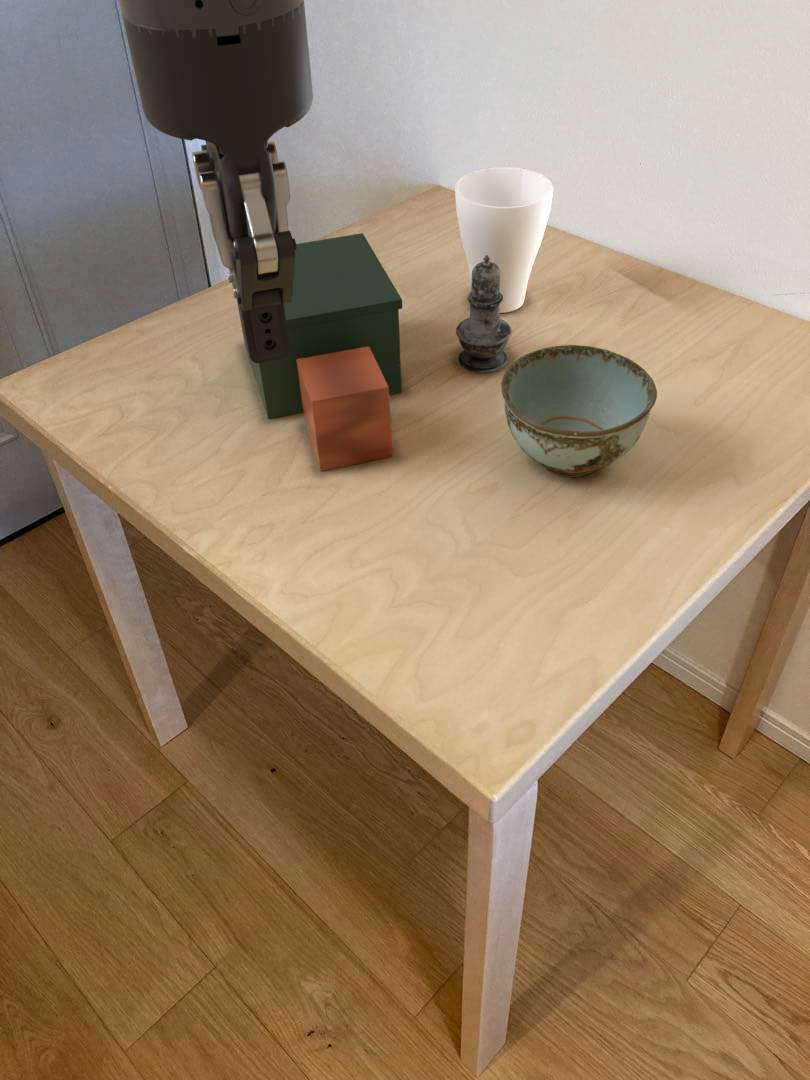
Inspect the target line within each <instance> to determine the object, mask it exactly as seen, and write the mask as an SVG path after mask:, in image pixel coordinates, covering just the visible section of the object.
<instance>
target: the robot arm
mask: <svg viewBox="0 0 810 1080" xmlns="http://www.w3.org/2000/svg"><path fill="white" fill-rule="evenodd" d="M118 3H119V8H120V12H121V16H122V17H121V18H122V21H123V25H124V30H125V34H126V39H127V43H128V48H129V52H130V57H131V61H132V67H133V70H134V74H135V79H136V83H137V89H138V93H139V97H140V102H141V106H142V110H143V111H142V112H143V114H144V117H145V118H146V120H147V121H148V123H149V124H150V125H151V126H152V127H154V128H155V129H156V130H157V131H159V132H161V133H162V134H165V135H167V136H170V137H173V138H175V139H180V140H185V141H193V140H200V141H205V144H201V145H200V148H201V150H198V151H192V152H191V157H192V163H193V168H194V172H195V177H196V180H197V183H198V186H199V189H200V190H201V194H202V198H203V202H204V205H205V208H206V211H207V213H208V217H209V222H210V228H211V232H212V236H213V239H214V242H215V244H216V246H217V251H218V253H219V254H218V255H219V257H220V261H221V263H222V266H224V267H225V268H227V269H228V271H229V270H230V271H229V272H227V278H228V282H229V284H232V293H233V298H234V299H236V302H237V301H238V304H239V309H238V311H239V310H240V315H239V317H240V316H241V320H240V322H241V321H242V326H241V328H242V327H243V332H242V334H243V333H244V337H243V339H244V338H245V343H244V345H245V344H246V347H247V350H248V353H249V356H250V359H251V360H252V361H253V362H255V363H263V362H269V361H274V360H279V359H284V358H286V357H287V356H288V355H289V353H290V346H289V339H288V332H287V325H286V317H285V310H284V304H287V303H291V302H292V295H293V278H294V264H295V250H297V248H296V244H297V243H296V238H294V237H293V235H292V232H291V230H289V220H288V211H287V205H288V204H289V203H290V201H291V190H290V189H291V188H290V182H289V175H288V168H287V165H286V162H285V160H279V156H278V152H277V146H276V144H275V141H274V140H270V139H271V137H272V136H273V135H274V134H276V133H277V132H278V131H280V130H282V129H283V128H289V127H292V126H293V125H295V124H296V123H298V122H300V121H301V120H302V119H303V118H304V117H305V116H306V115H307V114H308V113H309V111H310V110H311V107H312V105H313V101H314V90H313V82H312V71H311V60H310V50H309V39H308V29H307V18H306V7H305V6H306V5H305V0H118ZM269 140H270V141H269ZM238 304H237V305H238Z"/></svg>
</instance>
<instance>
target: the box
mask: <svg viewBox="0 0 810 1080" xmlns="http://www.w3.org/2000/svg"><path fill="white" fill-rule="evenodd" d="M296 248H297V250H295V264H294V278H293V295H292V302H291V303H287V304H284V310H285V317H286V325H287V332H288V339H289V346H290V353H289V355H288V356H287V357H286V358H284V359H279V360H274V361H269V362H263V363H255V362H253V361H252V360H251V359H250V356H249V353H248V350H247V347H246V344H245V338H244V333H243V327H242V321H241V316H240V310H239V304H238V301H237V300H236V303H237V310H238V314H239V320H240V326H241V331H242V337H243V342H244V347H245V351H246V354H247V357H248V360H249V363H250V367H251V370H252V372H253V375H254V379H255V383H256V385H257V388H258V392H259V394H260V398H261V401H262V404H263V407H264V410H265V413H266V417H267V419H268V420H271V419H276V418H280V417H284V416H285V417H286V416H290V415H294V414H300V413H304V412H303V405H302V397H301V390H300V382H299V375H298V368H297V359H301V358H307V357H313V356H318V355H324V354H329V353H335V352H340V351H346V350H351V349H357V348H362V347H368V346H369V347H370V349H371V351H372V353H373V355H374V357H375V360H376V362H377V364H378V366H379V368H380V370H381V372H382V374H383V376H384V378H385V381H386V383H387V385H388V387H389V396H390V395H395V394H400V393H402V389H403V388H402V366H401V364H402V362H401V340H400V339H401V338H400V337H401V336H400V312H399V310H402V309H403V299H402V297H401V295H400V294H399V292H398V290H397V288H396V287H395V285H394V283H393V282H392V280H391V279H390V277H389V275H388V273H387V271H386V270H385V268H384V267H383V264H382V263H381V262H380V260H379V258H378V257H377V254H376V253H375V251H374V250H373V248H372V246H371V245H370V243H369V241H368V239H367V237H366V236H365V234H364V232H363V233H362V232H361V233H355V234H349V235H343V236H337V237H331V238H325V239H319V240H311V241H306V242H300V243H296ZM228 271H229V272H230V270H229V269H228Z"/></svg>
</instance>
